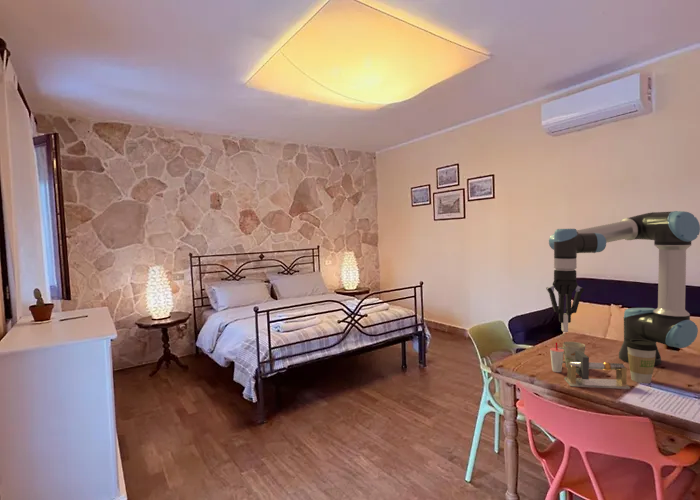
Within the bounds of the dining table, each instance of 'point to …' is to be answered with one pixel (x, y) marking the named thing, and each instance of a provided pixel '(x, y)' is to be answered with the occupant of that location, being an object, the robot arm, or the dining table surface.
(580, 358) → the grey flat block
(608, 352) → the dining table surface
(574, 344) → the mug
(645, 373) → the coffee cup
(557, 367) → the cup
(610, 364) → the metal rod stand
